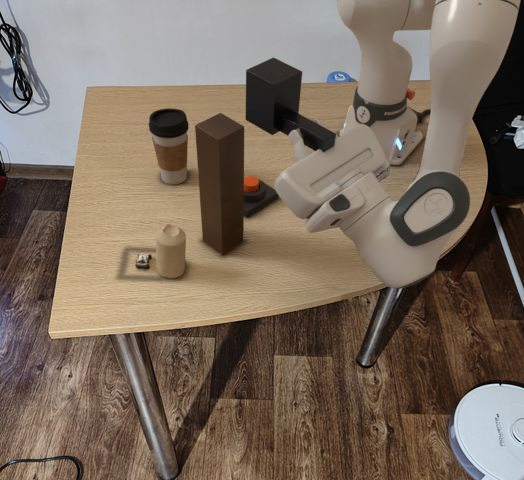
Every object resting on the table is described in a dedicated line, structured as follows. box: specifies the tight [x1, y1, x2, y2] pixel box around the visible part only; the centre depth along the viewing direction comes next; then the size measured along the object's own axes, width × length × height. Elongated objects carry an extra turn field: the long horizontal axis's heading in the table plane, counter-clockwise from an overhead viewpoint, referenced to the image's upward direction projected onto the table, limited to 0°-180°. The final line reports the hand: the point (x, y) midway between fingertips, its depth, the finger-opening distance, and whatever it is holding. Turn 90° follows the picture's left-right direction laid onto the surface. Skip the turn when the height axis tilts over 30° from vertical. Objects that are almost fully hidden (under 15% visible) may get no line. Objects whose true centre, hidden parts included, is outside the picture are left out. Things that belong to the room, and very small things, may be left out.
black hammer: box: [245, 57, 337, 153], centre depth 84 cm, size 6×15×8 cm, turn 46°
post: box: [194, 112, 245, 256], centre depth 105 cm, size 6×6×26 cm
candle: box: [155, 223, 187, 279], centre depth 105 cm, size 6×6×10 cm
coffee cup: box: [148, 108, 190, 185], centre depth 122 cm, size 8×8×15 cm
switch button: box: [244, 175, 259, 192], centre depth 120 cm, size 4×4×2 cm
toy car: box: [134, 252, 153, 269], centre depth 109 cm, size 3×4×2 cm, turn 178°
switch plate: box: [244, 178, 280, 218], centre depth 122 cm, size 10×8×4 cm
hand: (301, 126), depth 85 cm, fingers closed on black hammer, 2 cm apart
